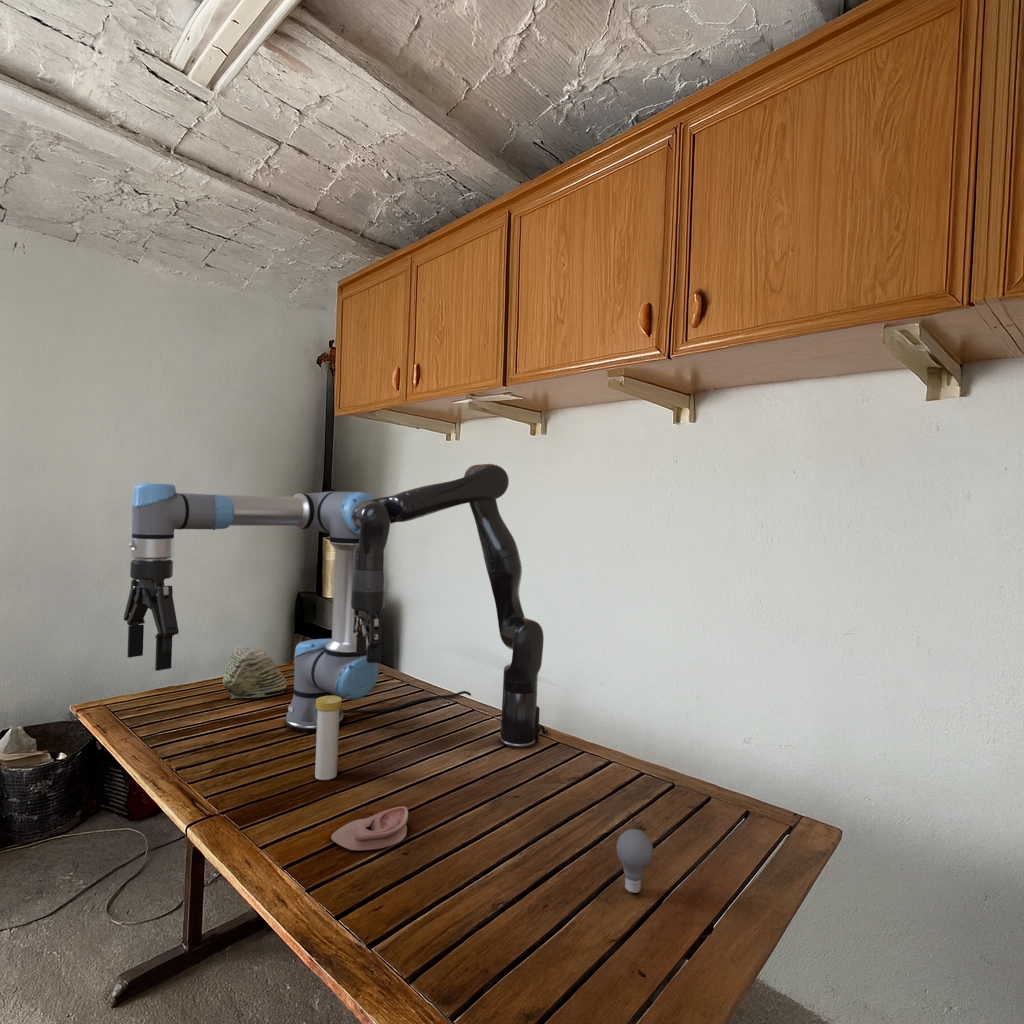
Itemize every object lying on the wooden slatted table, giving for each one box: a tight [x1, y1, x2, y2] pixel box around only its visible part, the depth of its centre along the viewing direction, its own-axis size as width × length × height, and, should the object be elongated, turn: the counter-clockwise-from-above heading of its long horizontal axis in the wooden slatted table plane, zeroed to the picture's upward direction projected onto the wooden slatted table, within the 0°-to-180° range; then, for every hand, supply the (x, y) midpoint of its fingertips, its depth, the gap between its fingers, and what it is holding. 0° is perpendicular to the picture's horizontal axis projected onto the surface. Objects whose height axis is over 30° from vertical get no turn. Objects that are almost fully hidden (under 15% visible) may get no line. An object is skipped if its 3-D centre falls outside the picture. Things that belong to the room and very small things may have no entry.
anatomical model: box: [330, 805, 409, 852], centre depth 119 cm, size 13×4×12 cm
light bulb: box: [615, 828, 654, 894], centre depth 106 cm, size 6×6×10 cm
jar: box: [314, 709, 340, 781], centre depth 144 cm, size 5×5×17 cm
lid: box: [316, 696, 343, 711], centre depth 144 cm, size 6×6×2 cm
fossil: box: [222, 646, 288, 699], centre depth 198 cm, size 9×18×15 cm, turn 132°
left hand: (148, 662), depth 129 cm, fingers open, 13 cm apart
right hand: (366, 658), depth 146 cm, fingers open, 8 cm apart
